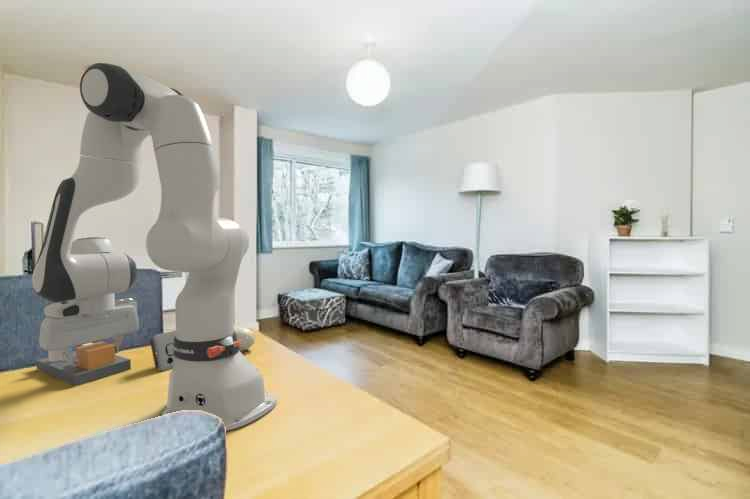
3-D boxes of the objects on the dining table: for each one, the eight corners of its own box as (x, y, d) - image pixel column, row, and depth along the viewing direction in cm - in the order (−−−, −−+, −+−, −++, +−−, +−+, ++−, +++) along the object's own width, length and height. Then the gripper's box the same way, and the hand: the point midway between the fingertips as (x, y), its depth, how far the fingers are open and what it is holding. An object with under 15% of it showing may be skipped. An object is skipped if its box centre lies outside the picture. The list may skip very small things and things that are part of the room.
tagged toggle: (95, 355, 99) (94, 343, 98) (86, 357, 97) (85, 345, 97) (91, 353, 100) (90, 342, 99) (82, 355, 98) (82, 344, 98)
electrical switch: (160, 372, 94) (158, 336, 94) (148, 370, 97) (146, 335, 97) (194, 361, 102) (191, 327, 102) (182, 359, 105) (180, 327, 105)
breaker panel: (130, 369, 96) (130, 357, 96) (75, 386, 86) (75, 372, 85) (90, 355, 106) (90, 345, 105) (36, 369, 95) (36, 357, 95)
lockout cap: (115, 362, 94) (114, 344, 94) (88, 370, 89) (88, 351, 88) (102, 358, 97) (102, 341, 96) (76, 365, 91) (75, 347, 91)
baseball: (249, 354, 108) (248, 332, 108) (225, 353, 109) (225, 330, 109) (259, 347, 115) (259, 326, 114) (236, 346, 116) (236, 324, 115)
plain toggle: (62, 359, 95) (61, 348, 95) (52, 362, 93) (51, 350, 93) (58, 358, 96) (57, 347, 96) (48, 360, 94) (48, 349, 94)
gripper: (129, 295, 102) (130, 345, 103) (34, 309, 84) (36, 369, 85) (143, 298, 99) (144, 349, 100) (48, 312, 81) (50, 374, 82)
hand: (94, 358), depth 92 cm, fingers open, 8 cm apart
